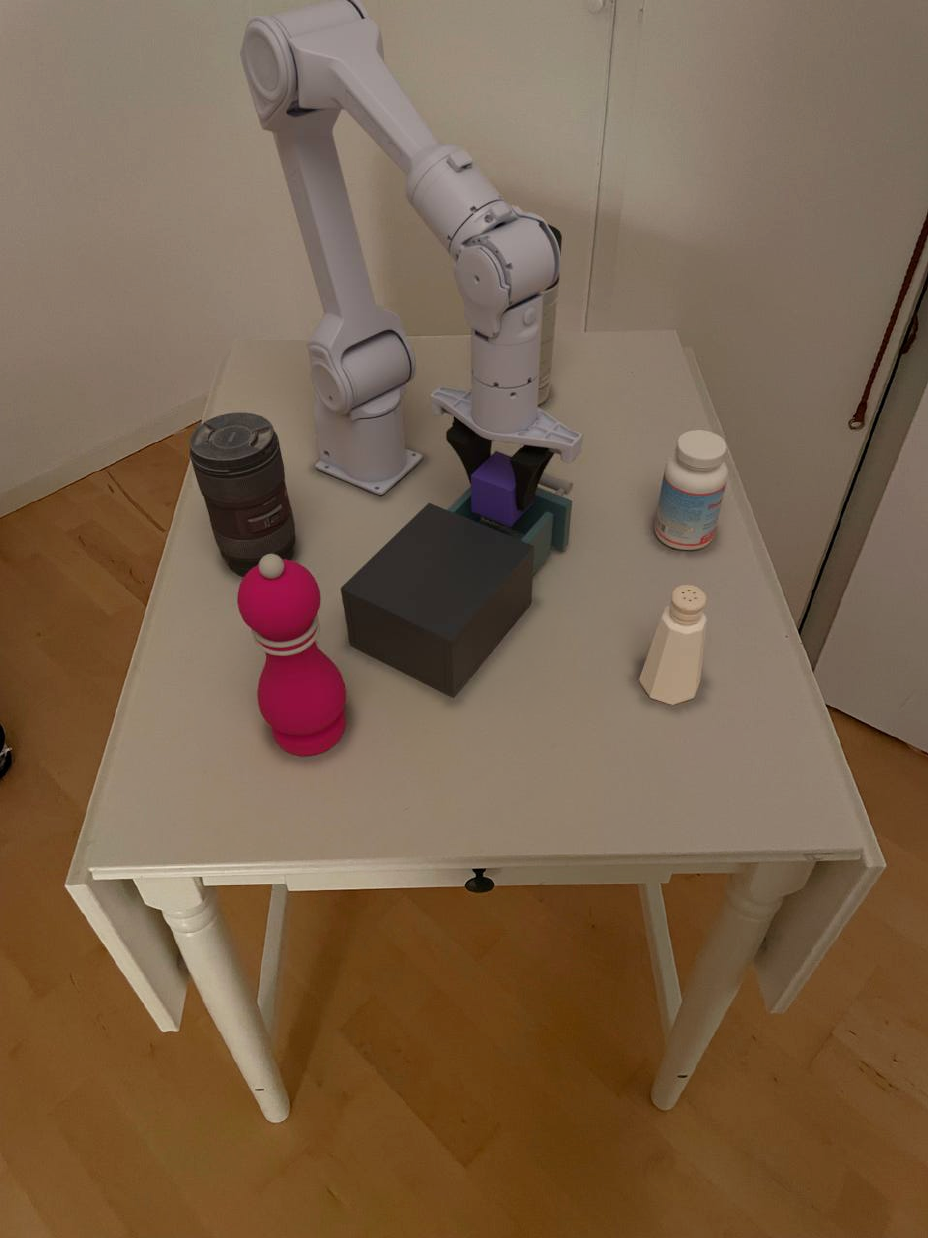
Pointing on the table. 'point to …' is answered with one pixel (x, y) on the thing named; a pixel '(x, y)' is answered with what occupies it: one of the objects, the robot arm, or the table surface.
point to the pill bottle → (692, 491)
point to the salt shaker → (677, 648)
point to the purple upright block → (495, 490)
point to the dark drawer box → (439, 597)
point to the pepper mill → (292, 657)
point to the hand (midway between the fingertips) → (503, 495)
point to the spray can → (548, 330)
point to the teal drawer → (534, 517)
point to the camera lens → (243, 488)
